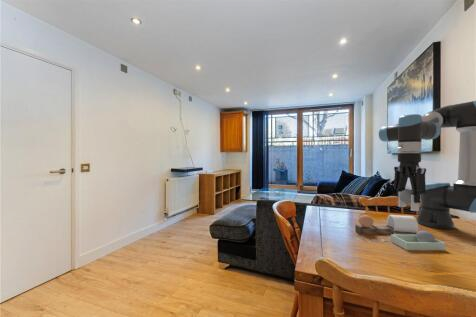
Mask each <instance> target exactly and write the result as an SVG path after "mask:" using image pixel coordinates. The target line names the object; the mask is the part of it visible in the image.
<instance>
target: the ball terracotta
mask: <svg viewBox="0 0 476 317" xmlns="http://www.w3.org/2000/svg"><path fill="white" fill-rule="evenodd" d="M358 222H359V225H360V226H363V227H366V228H368V227H371V226H372V225H374V219H373V218H372V217H371V216H370V215H368V214H362V215H360V216H359V218H358Z"/></svg>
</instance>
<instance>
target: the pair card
mask: <svg viewBox="0 0 476 317" xmlns="http://www.w3.org/2000/svg"><path fill="white" fill-rule="evenodd" d="M366 240H368V241H369V242H370V243H372V244H373V245H375V242H376V243H378V242H379V240H378V239H375V238H371V239H370V240H369V239H368V238H366ZM380 241H381V242H384V243H387V242H388V240H387V239H383V238H381V239H380Z"/></svg>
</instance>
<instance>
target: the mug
mask: <svg viewBox="0 0 476 317" xmlns="http://www.w3.org/2000/svg"><path fill="white" fill-rule="evenodd" d="M387 225H389V226H391V227H394V232H397V233H398V232H401V233H402V232H403V233H412V234H413V233H416V234H417V233H418V229H419V223H417V218H416V217H415V216H413V215H398V214H397V215H396V214H388V215H387V218H386V226H387Z"/></svg>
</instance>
